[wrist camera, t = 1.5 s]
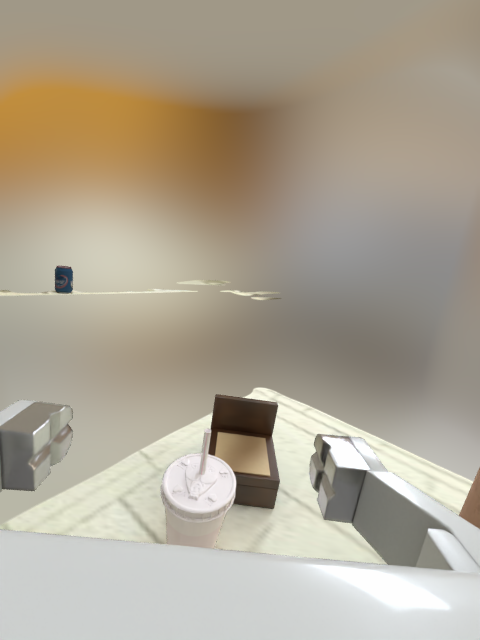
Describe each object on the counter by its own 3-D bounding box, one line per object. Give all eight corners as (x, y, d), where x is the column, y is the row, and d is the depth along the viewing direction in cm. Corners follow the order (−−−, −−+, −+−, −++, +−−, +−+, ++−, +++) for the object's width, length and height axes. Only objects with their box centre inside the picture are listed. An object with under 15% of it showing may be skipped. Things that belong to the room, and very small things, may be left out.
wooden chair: (199, 499, 32) (208, 433, 30) (208, 447, 41) (215, 393, 39) (273, 508, 32) (288, 444, 30) (266, 455, 41) (277, 402, 39)
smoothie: (227, 539, 28) (248, 421, 25) (213, 617, 22) (239, 473, 19) (168, 524, 29) (182, 406, 26) (139, 596, 23) (151, 452, 19)
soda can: (52, 292, 124) (52, 266, 121) (59, 290, 131) (59, 265, 128) (68, 294, 126) (69, 268, 123) (74, 292, 132) (75, 267, 130)
